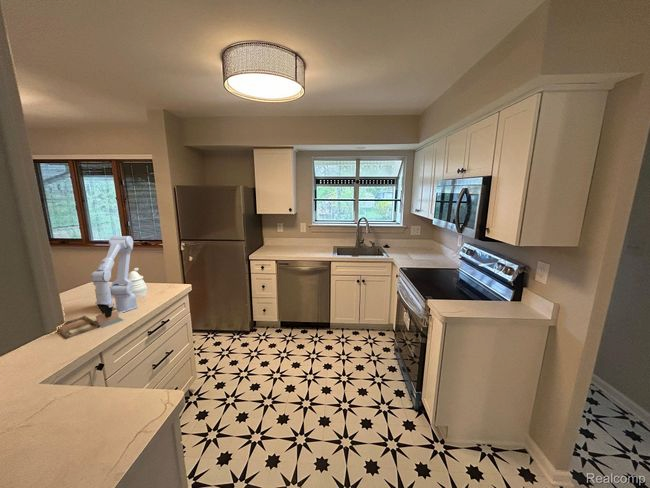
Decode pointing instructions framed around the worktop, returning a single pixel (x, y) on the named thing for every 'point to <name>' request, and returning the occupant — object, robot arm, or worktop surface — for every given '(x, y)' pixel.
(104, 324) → the slate mat
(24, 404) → the worktop surface
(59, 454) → the worktop surface
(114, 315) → the dusty pink block
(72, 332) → the offcut upper
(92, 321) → the walnut rack
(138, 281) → the honey pot
